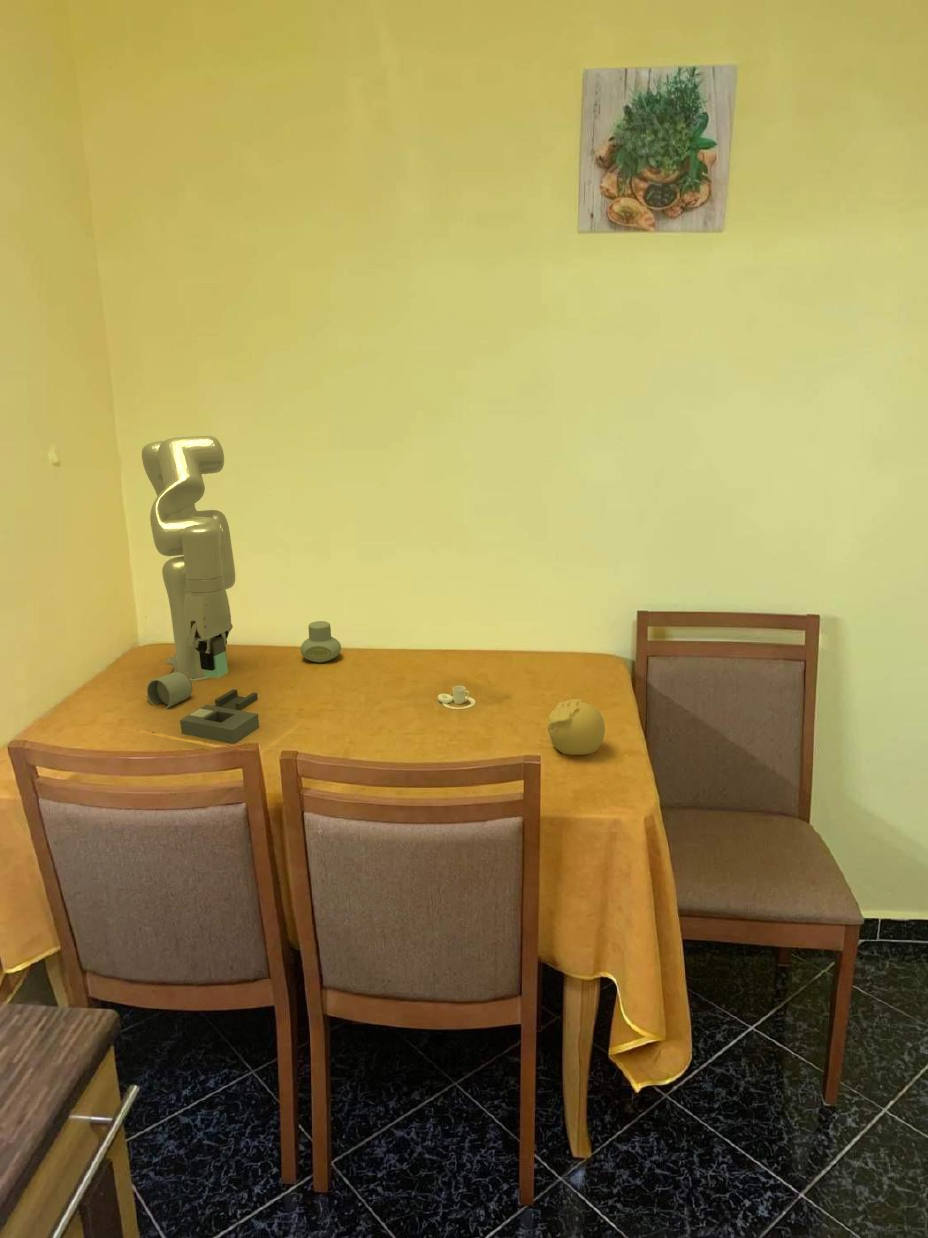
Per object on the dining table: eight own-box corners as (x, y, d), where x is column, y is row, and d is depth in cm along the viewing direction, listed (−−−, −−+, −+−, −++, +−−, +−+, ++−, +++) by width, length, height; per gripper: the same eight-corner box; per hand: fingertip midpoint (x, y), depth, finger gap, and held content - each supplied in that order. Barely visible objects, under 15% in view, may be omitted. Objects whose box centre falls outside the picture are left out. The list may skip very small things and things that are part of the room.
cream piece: (432, 703, 208) (432, 688, 206) (455, 694, 213) (455, 678, 212) (459, 713, 202) (459, 697, 201) (482, 703, 207) (482, 687, 206)
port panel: (182, 736, 191) (179, 719, 189) (208, 720, 199) (206, 703, 197) (234, 747, 186) (232, 729, 184) (259, 730, 193) (257, 712, 192)
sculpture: (552, 734, 190) (553, 688, 187) (607, 740, 187) (609, 694, 183) (541, 757, 180) (542, 709, 176) (599, 764, 176) (601, 716, 173)
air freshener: (298, 664, 233) (296, 629, 230) (304, 653, 240) (301, 619, 237) (339, 664, 233) (337, 628, 230) (343, 653, 241) (341, 619, 237)
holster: (215, 709, 205) (214, 699, 204) (233, 698, 211) (233, 689, 210) (240, 713, 202) (239, 704, 201) (258, 702, 208) (257, 693, 208)
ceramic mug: (196, 700, 210) (192, 670, 208) (172, 712, 203) (167, 682, 201) (163, 694, 214) (159, 664, 212) (138, 706, 207) (134, 676, 205)
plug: (204, 676, 187) (199, 641, 184) (215, 671, 190) (210, 636, 187) (218, 678, 185) (213, 642, 183) (228, 672, 188) (223, 637, 186)
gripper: (215, 573, 190) (223, 652, 196) (164, 592, 176) (174, 677, 181) (244, 576, 187) (251, 656, 193) (194, 595, 173) (203, 681, 178)
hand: (214, 665), depth 187 cm, fingers closed on plug, 3 cm apart
